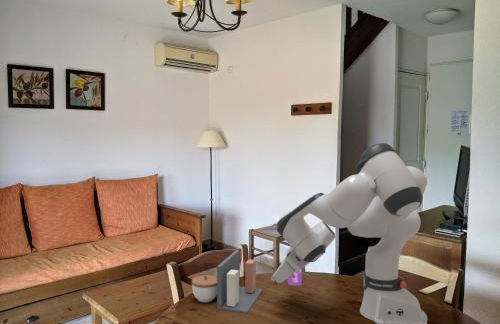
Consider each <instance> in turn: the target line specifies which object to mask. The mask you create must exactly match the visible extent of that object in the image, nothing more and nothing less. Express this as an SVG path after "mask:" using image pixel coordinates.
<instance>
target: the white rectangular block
mask: <svg viewBox="0 0 500 324" xmlns="http://www.w3.org/2000/svg"><path fill="white" fill-rule="evenodd" d="M239 286H240V269H239V270H230V271H229V272H228V273H227V306H233V307H235V306H236V304H237V303H238V302H239Z"/></svg>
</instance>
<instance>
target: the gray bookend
mask: <svg viewBox="0 0 500 324" xmlns="http://www.w3.org/2000/svg"><path fill="white" fill-rule="evenodd" d="M240 255H241V254H240V250H239V249H235V250H234V251H233V252H232V253H231V254H230V255H228V256H227V257H226V258H225V259H224V260H222V261H221V262H219V264H218V265H216V277H217V296H216V297H217V298H216V299H217V301H216V304H217V306H216V309H217V310H220V311H221V310H222V311H230V312H238V313H245V314H247V313H248V312H249V311H250V309H251V308H252V306H253V305H254V303H255V302H256V300H257V299H258V298H259V296H260V295H261V293H262V292H263V288H258V287H256V289H255V290H254V292H253V293H247V292H245V286H241V285H239V302H238V303H237V304H236V306H235V307H233V306H227V273H228V272H229V271H230V270H239V271H240V265H241V264H240V260H241V259H240V257H241V256H240Z"/></svg>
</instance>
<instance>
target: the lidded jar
mask: <svg viewBox="0 0 500 324" xmlns="http://www.w3.org/2000/svg"><path fill="white" fill-rule="evenodd" d="M191 290H192V293H193V296H194V297H195V299H196V300H197V302H199V303H210V301H211V302H213V301H212V300H214V299H216V297H217V275H210V274H204V275H198V276H195V277H193V278H191Z"/></svg>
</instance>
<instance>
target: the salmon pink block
mask: <svg viewBox="0 0 500 324" xmlns="http://www.w3.org/2000/svg"><path fill="white" fill-rule="evenodd" d="M244 268H245V269H244V270H245V271H244V277H245V278H244V279H245V280H244V283H245V285H244V287H245V292H247V293H253V292H254V290H255V289H256V288H257V287H256V286H257V284H256V283H257V260H256V259H251V258H250V259H247V260H246V261H245V265H244Z"/></svg>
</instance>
